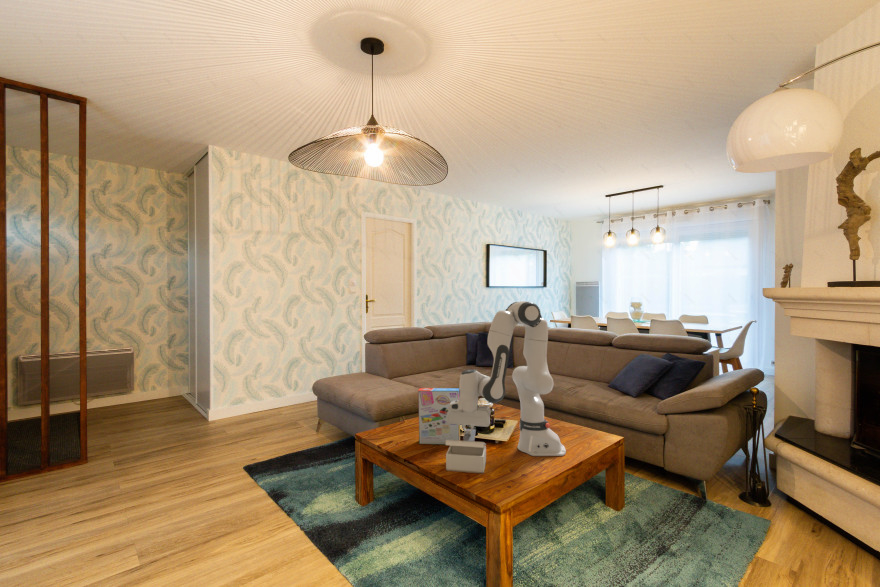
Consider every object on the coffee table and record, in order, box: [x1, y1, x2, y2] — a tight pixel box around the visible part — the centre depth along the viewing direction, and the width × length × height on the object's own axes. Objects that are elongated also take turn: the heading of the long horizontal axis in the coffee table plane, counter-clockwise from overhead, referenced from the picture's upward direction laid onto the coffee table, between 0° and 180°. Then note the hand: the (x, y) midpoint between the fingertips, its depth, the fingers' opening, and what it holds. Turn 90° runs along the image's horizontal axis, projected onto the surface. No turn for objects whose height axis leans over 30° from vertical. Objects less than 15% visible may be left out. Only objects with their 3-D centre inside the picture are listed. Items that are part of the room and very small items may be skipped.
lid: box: [445, 428, 487, 448], centre depth 183 cm, size 16×20×9 cm
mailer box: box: [445, 445, 487, 474], centre depth 178 cm, size 16×12×7 cm
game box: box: [417, 387, 461, 445], centre depth 206 cm, size 21×6×27 cm, turn 84°
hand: (467, 434), depth 190 cm, fingers closed, pressing on lid
